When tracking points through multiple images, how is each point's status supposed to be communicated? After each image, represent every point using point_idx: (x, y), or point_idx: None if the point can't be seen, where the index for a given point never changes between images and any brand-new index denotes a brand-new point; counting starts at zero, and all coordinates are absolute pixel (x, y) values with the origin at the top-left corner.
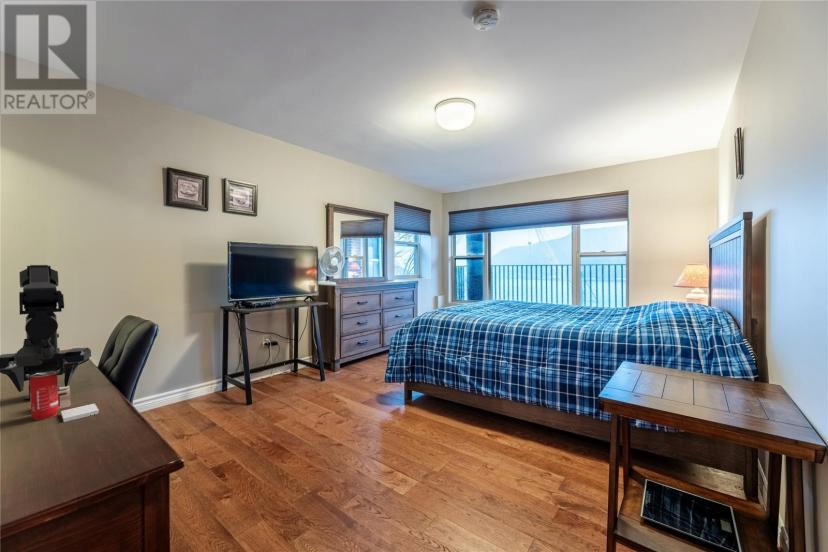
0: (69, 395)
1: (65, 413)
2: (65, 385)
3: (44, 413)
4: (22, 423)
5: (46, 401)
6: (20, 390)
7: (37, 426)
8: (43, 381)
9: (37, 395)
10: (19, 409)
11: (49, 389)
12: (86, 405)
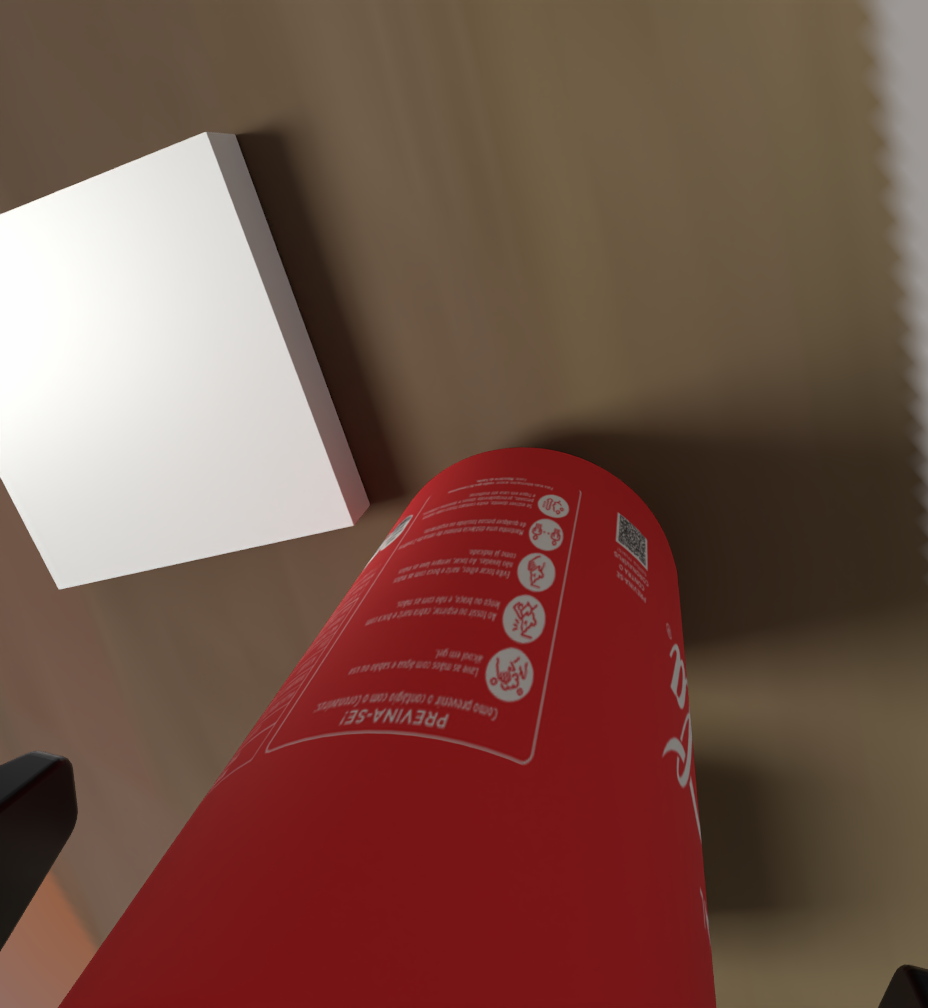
0: None
1: (261, 375)
2: (35, 768)
3: (496, 456)
4: (749, 439)
5: (425, 549)
6: (923, 990)
7: (528, 160)
8: (265, 899)
9: (528, 632)
10: (873, 999)
11: (287, 702)
12: (124, 569)
